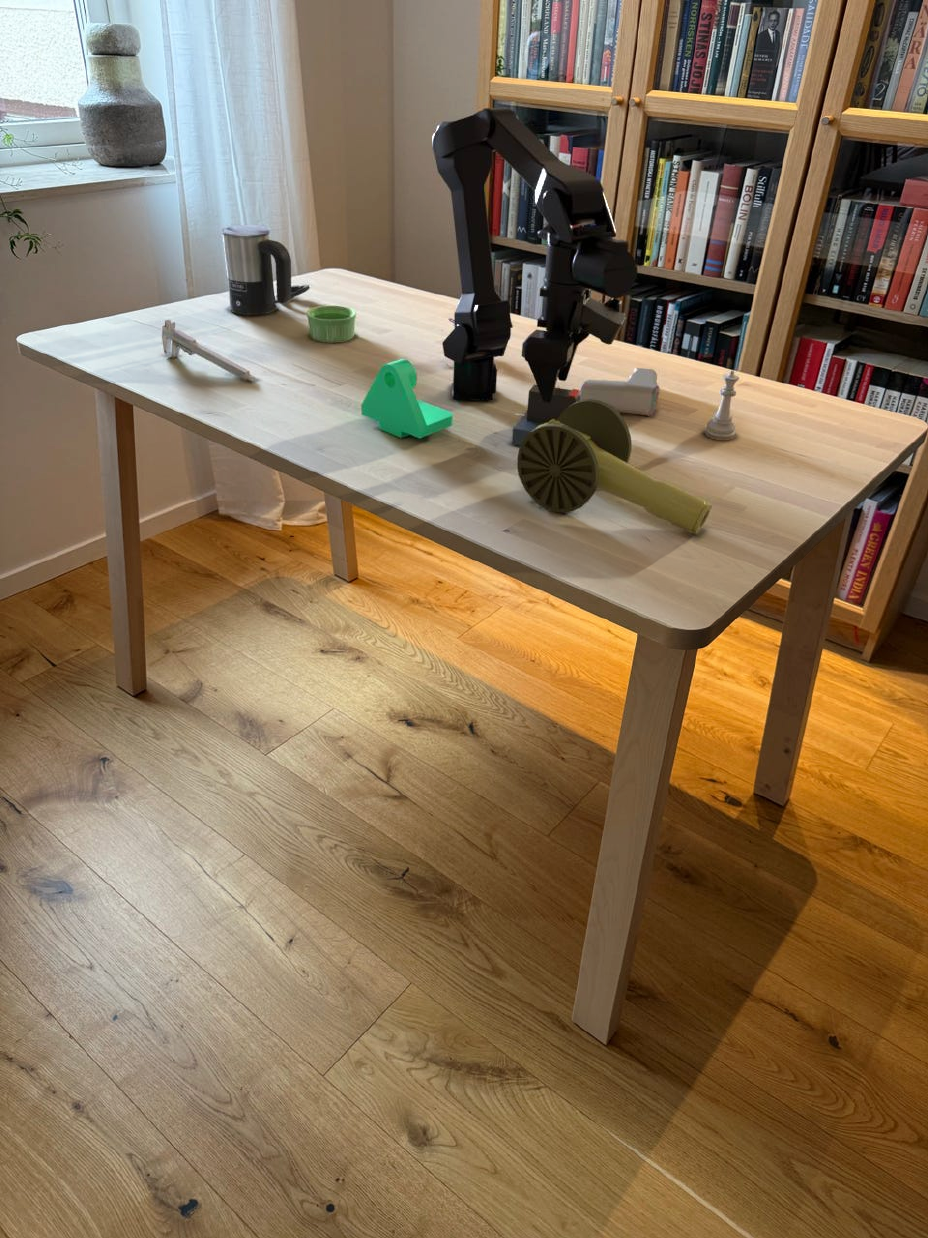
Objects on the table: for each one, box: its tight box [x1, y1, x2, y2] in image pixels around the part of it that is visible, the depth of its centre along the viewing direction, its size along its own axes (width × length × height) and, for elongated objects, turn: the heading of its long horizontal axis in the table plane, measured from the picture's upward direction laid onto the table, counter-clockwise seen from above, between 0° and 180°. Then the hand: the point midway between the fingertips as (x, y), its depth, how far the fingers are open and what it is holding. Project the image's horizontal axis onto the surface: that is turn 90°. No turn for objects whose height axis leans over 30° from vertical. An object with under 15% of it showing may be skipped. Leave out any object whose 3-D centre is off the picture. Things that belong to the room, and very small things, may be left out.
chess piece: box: [704, 370, 740, 441], centre depth 140 cm, size 4×4×10 cm
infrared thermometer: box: [579, 367, 660, 416], centre depth 153 cm, size 5×12×15 cm
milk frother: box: [220, 224, 311, 316], centre depth 184 cm, size 14×16×15 cm
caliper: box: [161, 319, 256, 382], centre depth 156 cm, size 20×1×6 cm, turn 57°
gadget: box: [526, 383, 581, 423], centre depth 137 cm, size 7×3×5 cm, turn 71°
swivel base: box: [511, 410, 544, 447], centre depth 139 cm, size 13×11×3 cm
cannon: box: [516, 399, 713, 535], centre depth 118 cm, size 25×12×11 cm, turn 58°
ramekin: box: [305, 304, 357, 344], centre depth 173 cm, size 9×9×4 cm
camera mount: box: [360, 358, 454, 439], centre depth 138 cm, size 12×8×10 cm, turn 48°
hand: (554, 390), depth 136 cm, fingers open, 9 cm apart
